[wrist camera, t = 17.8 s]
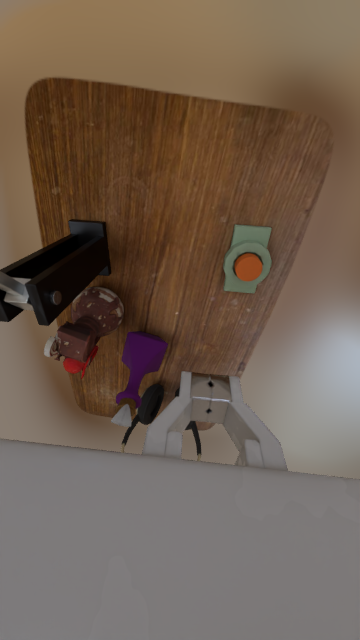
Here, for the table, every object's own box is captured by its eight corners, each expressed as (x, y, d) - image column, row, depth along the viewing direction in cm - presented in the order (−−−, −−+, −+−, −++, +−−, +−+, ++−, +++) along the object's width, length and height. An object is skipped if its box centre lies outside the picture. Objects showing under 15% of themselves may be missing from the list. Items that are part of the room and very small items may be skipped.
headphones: (199, 406, 56) (197, 507, 39) (138, 397, 56) (111, 495, 39) (204, 382, 51) (205, 486, 34) (138, 373, 51) (107, 472, 34)
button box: (229, 223, 32) (231, 227, 30) (275, 227, 32) (280, 231, 30) (218, 288, 38) (219, 295, 36) (258, 291, 38) (261, 298, 36)
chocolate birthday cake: (122, 329, 45) (91, 392, 32) (81, 316, 44) (32, 375, 31) (133, 289, 39) (101, 345, 27) (86, 272, 38) (31, 322, 26)
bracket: (68, 219, 34) (-36, 259, 19) (108, 222, 34) (34, 265, 19) (79, 270, 38) (1, 335, 24) (114, 273, 38) (58, 340, 23)
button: (237, 251, 32) (238, 255, 31) (262, 253, 32) (265, 258, 31) (232, 275, 34) (233, 280, 33) (256, 277, 34) (258, 282, 33)
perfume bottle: (160, 359, 48) (141, 446, 33) (125, 349, 47) (90, 433, 32) (170, 333, 44) (153, 418, 29) (132, 321, 43) (95, 403, 28)
